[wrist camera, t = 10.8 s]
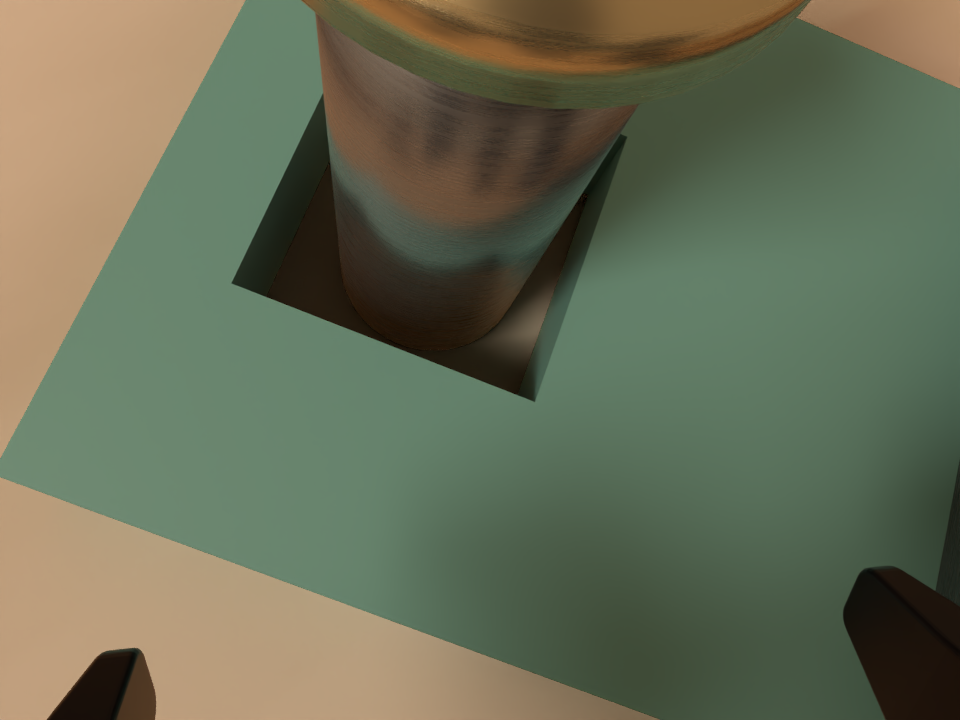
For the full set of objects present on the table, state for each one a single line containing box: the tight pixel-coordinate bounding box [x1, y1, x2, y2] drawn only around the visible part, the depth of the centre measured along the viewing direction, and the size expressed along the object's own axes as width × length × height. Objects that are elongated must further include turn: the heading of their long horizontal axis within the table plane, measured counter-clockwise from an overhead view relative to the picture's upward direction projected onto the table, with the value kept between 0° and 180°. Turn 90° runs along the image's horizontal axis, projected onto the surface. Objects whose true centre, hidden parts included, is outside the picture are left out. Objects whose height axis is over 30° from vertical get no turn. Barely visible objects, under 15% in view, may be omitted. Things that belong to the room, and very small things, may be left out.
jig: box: [0, 0, 960, 720], centre depth 16 cm, size 20×16×5 cm
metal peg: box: [301, 0, 811, 351], centre depth 12 cm, size 6×6×13 cm
